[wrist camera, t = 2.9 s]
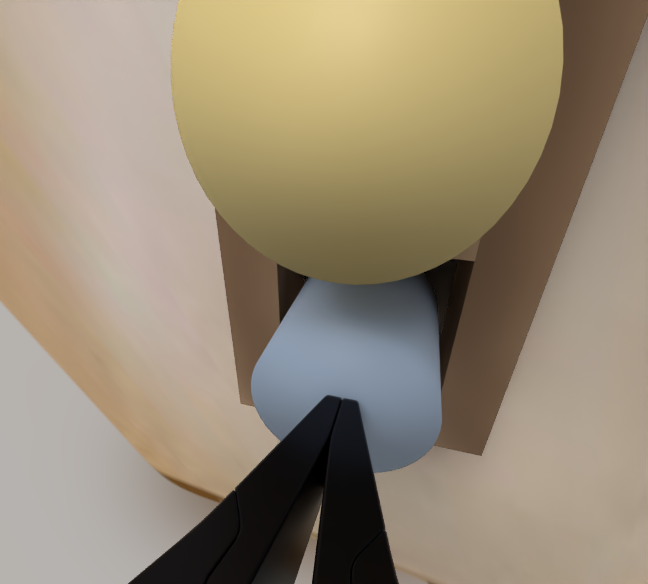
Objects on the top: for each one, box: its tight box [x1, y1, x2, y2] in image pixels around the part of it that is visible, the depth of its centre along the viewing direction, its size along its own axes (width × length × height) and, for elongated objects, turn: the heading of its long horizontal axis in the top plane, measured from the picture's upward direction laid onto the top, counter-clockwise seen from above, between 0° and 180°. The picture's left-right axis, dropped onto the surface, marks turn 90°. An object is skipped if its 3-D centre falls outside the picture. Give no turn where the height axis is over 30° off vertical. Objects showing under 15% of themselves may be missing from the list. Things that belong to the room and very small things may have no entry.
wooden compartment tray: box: [215, 0, 648, 456], centre depth 10 cm, size 10×24×3 cm, turn 178°
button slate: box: [251, 272, 442, 473], centre depth 12 cm, size 5×5×5 cm
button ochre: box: [171, 0, 563, 285], centre depth 7 cm, size 5×5×5 cm
